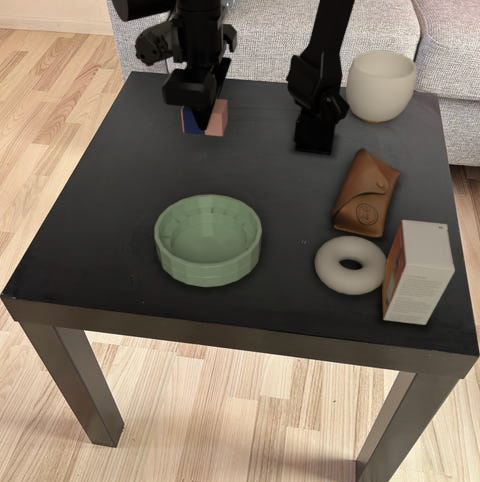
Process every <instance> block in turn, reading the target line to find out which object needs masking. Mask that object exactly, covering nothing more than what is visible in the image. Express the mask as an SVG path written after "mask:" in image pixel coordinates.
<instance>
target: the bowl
mask: <svg viewBox="0 0 480 482" xmlns="http://www.w3.org/2000/svg"><path fill="white" fill-rule="evenodd" d="M262 227H263V226H262V223H261V218H260V217H259V216H258V214H257V213H256V212H255V211H254V209H253V208H252V207H250V206H249V205H247V204H246V203H245V202H243V201H242V200H239V199H236V198H234V197H230V196H228V195H221V194H213V193H212V194H211V193H210V194H196V195H193V196H190V197H186V198H183V199H180V200H178V201H177V202H175V203H173V204H171V205H169V206H167V208H166V209H164V211H163V212H162V213H160V215H159V216H158V218H157V219H156V222H155V224H154V242H155V248H156V254H157V258H158V260H159V261H158V262H159V263H160V265H161V267H162V269H163V270H164V271H165V272H166V273H167V274H168V275H170V276H171V277H172V278H173V279H174V280H177V281H179V282H182V283H184V284H186V285H188V286H189V285H190V286H196V287H201V288H202V287H203V288H210V287H220V286H221V287H222V286H226V285H228V284H231V283H235V282H237V281H239V280H241V279H242V278H244V277H246V275H248V274H250V273H251V272H252V271H253V269H254V268H255V267H256V265H257V264H258V263H259V260H260V256H261V252H262V242H263V241H262V240H263V239H262V237H263V228H262Z"/></svg>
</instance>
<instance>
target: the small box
mask: <svg viewBox="0 0 480 482" xmlns="http://www.w3.org/2000/svg"><path fill="white" fill-rule="evenodd" d="M448 227H449V226H448V224H447V223H439V222H429V221H420V220H410V219H409V220H408V219H401V220H400V223H399V226H398V229H397V231H396V234H395V237H394V239H393V242H392V245H391V248H390V250H389V253H388V256H387V257H386V260H387V261H386V264H385V277H384V280H383V282H382V283H381V299H382V300H381V301H382V302H381V304H382V320H383V321H390V322H397V323H407V324H414V325H421V326H422V325H423V326H425V325H427V324H428V321H429V320H430V318H431V316H432V314H433V312H434V310H435V308H436V307H437V306H438V303H439V301H440V300H441V297H442V295H443V294H444V292H445V291H446V289H447V286H448V284H449V283H450V281H451V279H452V277H453V275H454V274H455V272H456V268H455V264H454V259H453V255H452V249H451V243H450V237H449V228H448Z"/></svg>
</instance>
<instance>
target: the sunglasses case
mask: <svg viewBox="0 0 480 482" xmlns="http://www.w3.org/2000/svg"><path fill="white" fill-rule="evenodd" d="M401 173H402V172H401V171H400V170H396V169H395V168H393V167H391V166H390V165H389V164H387V163H385V162H384V161H382V160H381V159H379V158H377V157H376V156H374V155H373V154H372V153H369V152H368V151H367V149H366V147H361V148H359V149H358V150H357V151H356V153H355V154H354V157H353V158H352V161H351V163H350V165H349V168H348V170H347V173H346V175H345V178H344V181H343V183H342V186H341V188H340V191H339V193H338V196H337V197H336V198H337V199H336V201H335V204H334V206H333V210H332V213H331V216H330V224H331V225H332V227H333V228H334V229H335V230H337V231H342V232H344V233H348V234H352V235H356V236H362V237H367V238H374V239H379V238H382V237H383V234H384V231H385V226H386V225H385V224H386V218H387V214H388V210H389V206H390V203H391V199H392V197H393V193H394V190H395V187H396V184H397V182H398V180H399V178H400V176H401Z"/></svg>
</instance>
